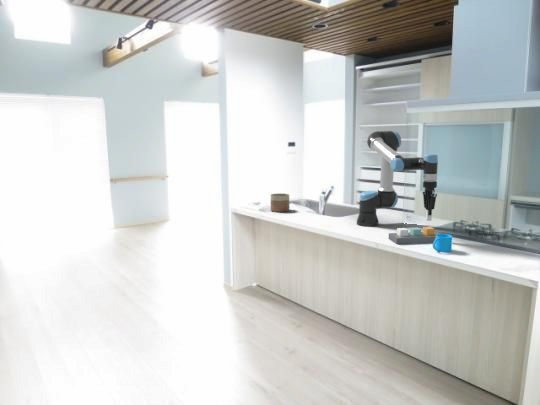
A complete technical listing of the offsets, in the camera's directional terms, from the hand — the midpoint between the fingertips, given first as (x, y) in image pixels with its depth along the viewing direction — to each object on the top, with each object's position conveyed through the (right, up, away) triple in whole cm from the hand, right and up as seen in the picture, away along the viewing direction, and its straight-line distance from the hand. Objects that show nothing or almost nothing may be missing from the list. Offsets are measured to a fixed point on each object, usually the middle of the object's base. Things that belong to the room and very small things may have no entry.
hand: (428, 220), depth 236 cm
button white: (-16, -9, -1) cm, 18 cm away
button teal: (-8, -9, 0) cm, 12 cm away
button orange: (0, -8, +1) cm, 8 cm away
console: (-8, -12, +1) cm, 14 cm away
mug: (-2, -16, -21) cm, 26 cm away
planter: (-86, +3, +102) cm, 133 cm away
